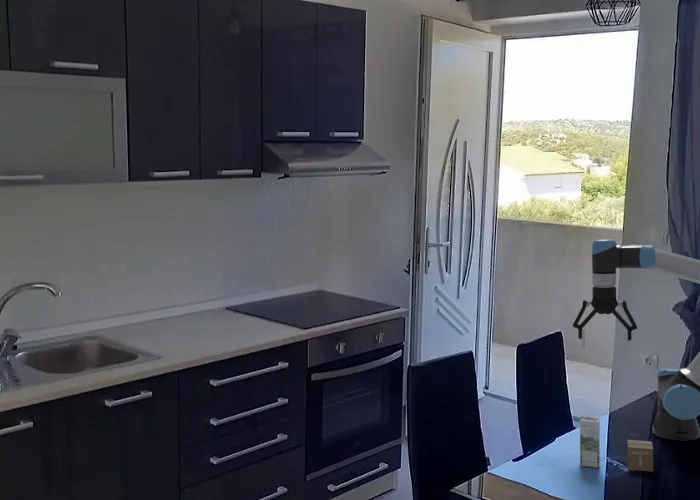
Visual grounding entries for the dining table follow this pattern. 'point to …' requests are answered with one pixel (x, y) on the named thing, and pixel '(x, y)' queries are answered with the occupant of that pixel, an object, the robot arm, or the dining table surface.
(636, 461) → the letter cube
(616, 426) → the dining table surface
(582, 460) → the syrup box
